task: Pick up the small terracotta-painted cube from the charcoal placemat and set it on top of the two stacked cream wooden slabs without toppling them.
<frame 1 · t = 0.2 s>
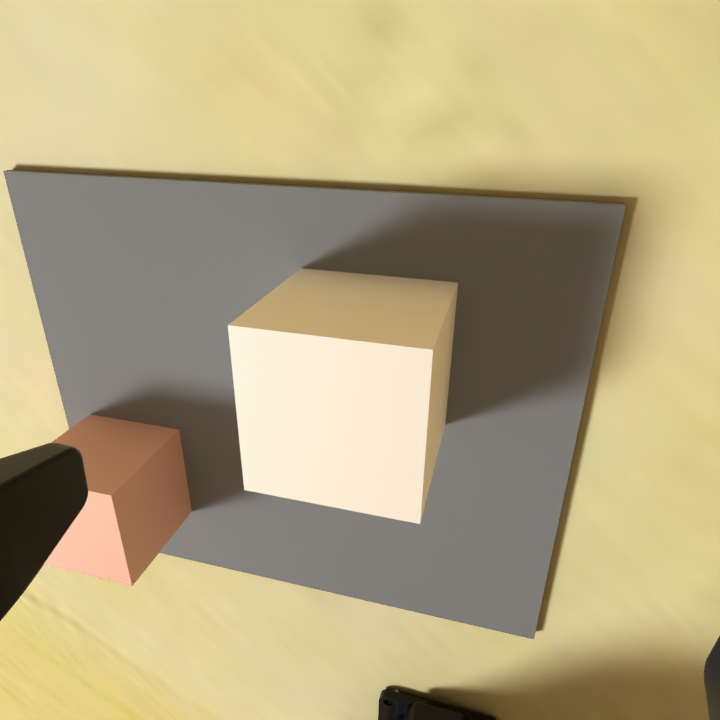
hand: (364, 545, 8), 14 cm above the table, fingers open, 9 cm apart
placemat: (288, 415, 25), on the table
slab lower: (375, 348, 22), resting on placemat, touching slab upper
slab upper: (354, 383, 20), point 3 cm above the table, touching slab lower
cube: (141, 463, 28), resting on placemat
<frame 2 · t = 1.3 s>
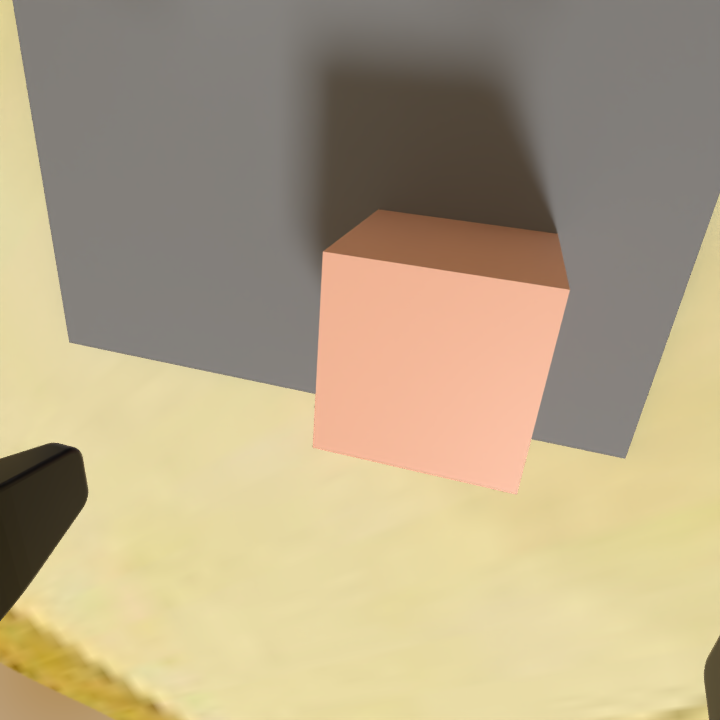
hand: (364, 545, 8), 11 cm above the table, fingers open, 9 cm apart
cube: (451, 305, 17), resting on placemat
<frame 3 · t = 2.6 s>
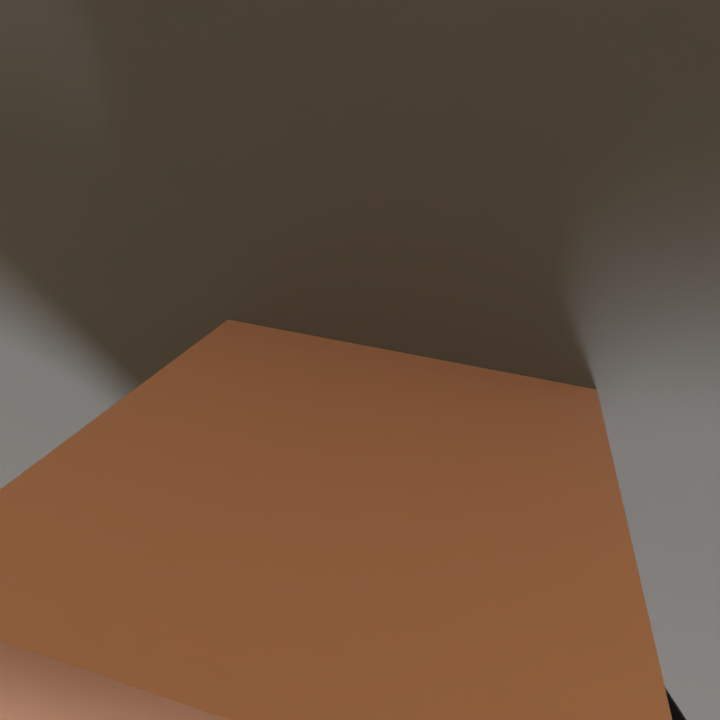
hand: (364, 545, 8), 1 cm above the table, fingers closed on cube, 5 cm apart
cube: (381, 499, 9), resting on placemat, touching gripper
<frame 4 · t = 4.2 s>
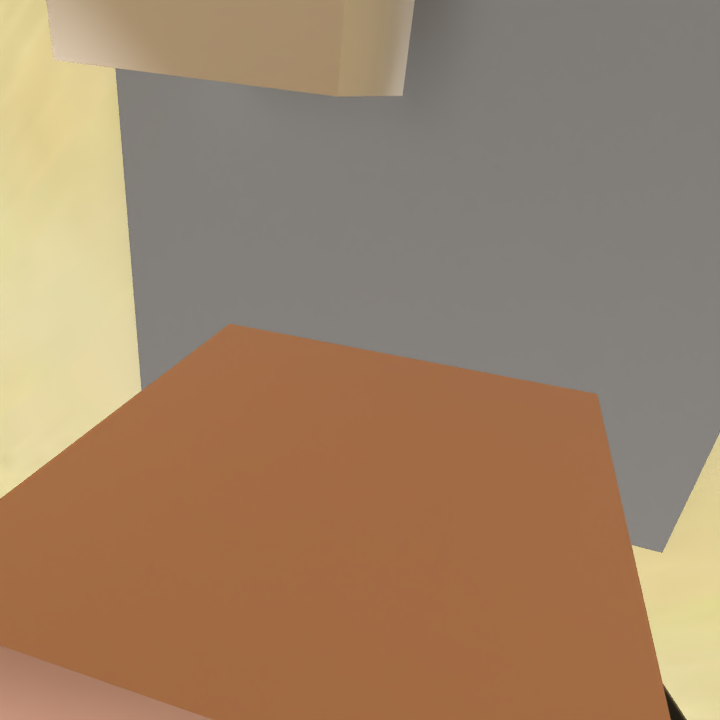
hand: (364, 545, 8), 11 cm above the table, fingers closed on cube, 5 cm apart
placemat: (434, 138, 16), on the table
cube: (382, 502, 9), point 10 cm above the table, touching gripper
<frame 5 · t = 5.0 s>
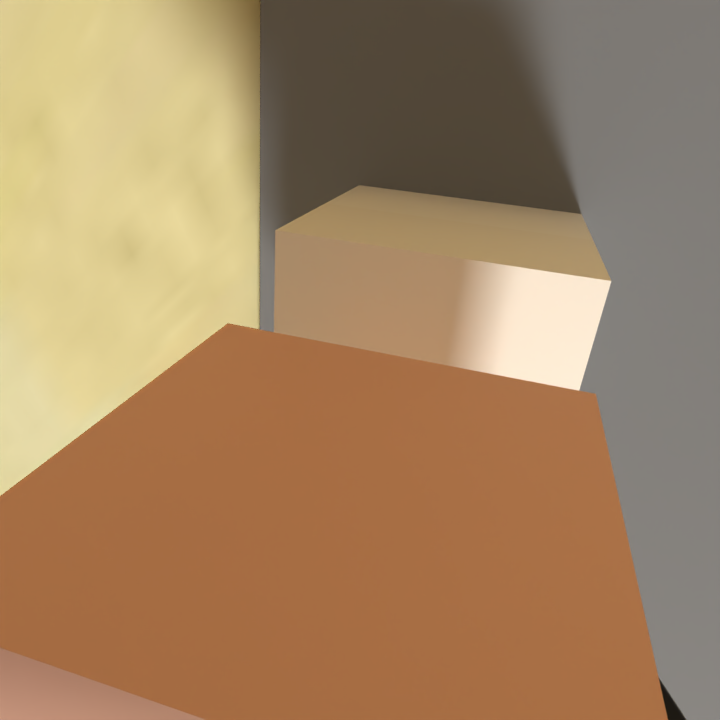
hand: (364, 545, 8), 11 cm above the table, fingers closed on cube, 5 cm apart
placemat: (556, 437, 18), on the table
slab lower: (449, 302, 16), resting on placemat, touching slab upper
slab upper: (434, 342, 14), point 3 cm above the table, touching slab lower
cube: (381, 502, 9), point 9 cm above the table, touching gripper
when the fingers open (9 cm above the table, at t = 5.6 s): cube drops 1 cm, resting on slab upper.
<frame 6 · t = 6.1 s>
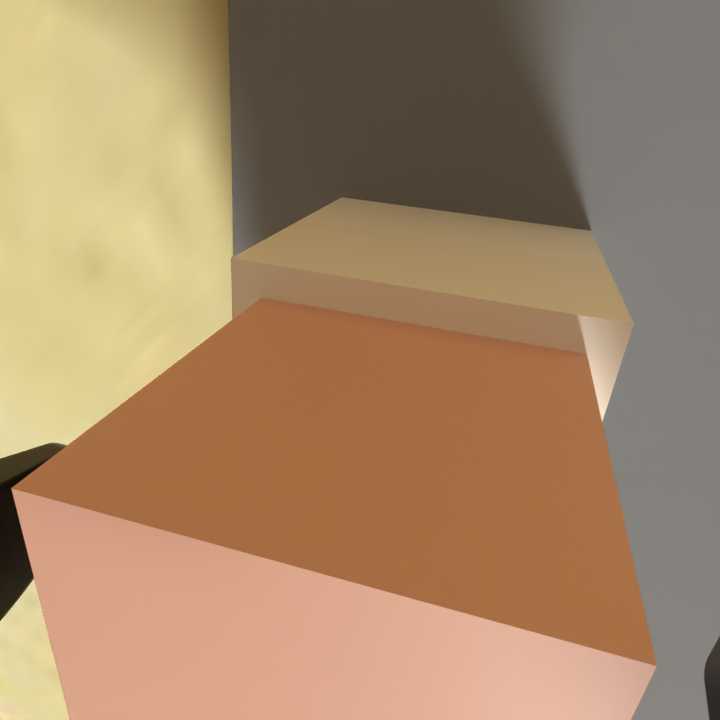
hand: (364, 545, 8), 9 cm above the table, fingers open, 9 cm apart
placemat: (562, 474, 16), on the table
slab lower: (442, 327, 15), resting on placemat, touching slab upper
slab upper: (424, 377, 12), point 3 cm above the table, touching cube, slab lower
cube: (397, 458, 10), point 6 cm above the table, touching slab upper
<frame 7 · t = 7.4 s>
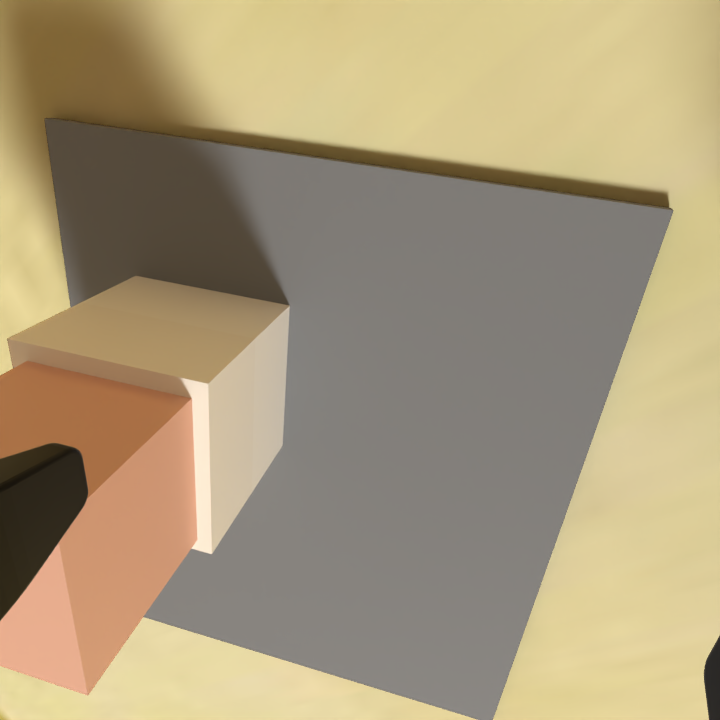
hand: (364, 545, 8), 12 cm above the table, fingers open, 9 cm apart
placemat: (308, 465, 23), on the table
slab lower: (212, 363, 22), resting on placemat, touching slab upper
slab upper: (170, 401, 19), point 3 cm above the table, touching cube, slab lower
cube: (116, 454, 16), point 6 cm above the table, touching slab upper
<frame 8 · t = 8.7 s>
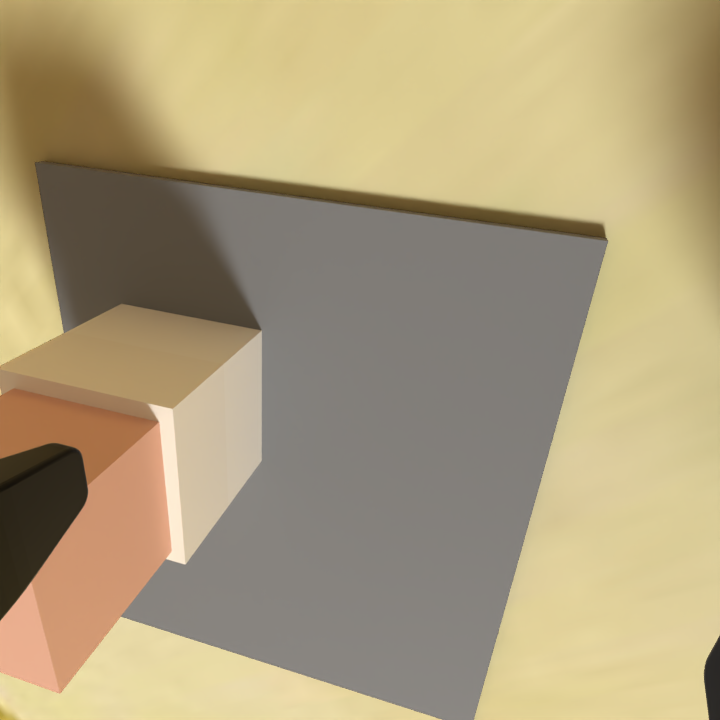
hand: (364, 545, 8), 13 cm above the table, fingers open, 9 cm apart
placemat: (286, 479, 24), on the table
slab lower: (193, 384, 23), resting on placemat, touching slab upper
slab upper: (150, 422, 20), point 3 cm above the table, touching cube, slab lower
cube: (95, 472, 18), point 6 cm above the table, touching slab upper
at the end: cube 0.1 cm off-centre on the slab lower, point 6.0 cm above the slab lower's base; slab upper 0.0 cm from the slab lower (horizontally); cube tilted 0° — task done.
